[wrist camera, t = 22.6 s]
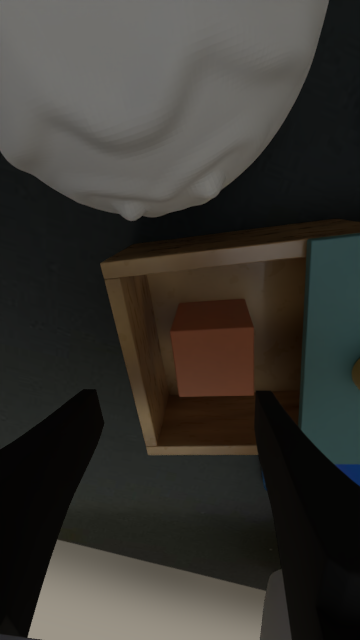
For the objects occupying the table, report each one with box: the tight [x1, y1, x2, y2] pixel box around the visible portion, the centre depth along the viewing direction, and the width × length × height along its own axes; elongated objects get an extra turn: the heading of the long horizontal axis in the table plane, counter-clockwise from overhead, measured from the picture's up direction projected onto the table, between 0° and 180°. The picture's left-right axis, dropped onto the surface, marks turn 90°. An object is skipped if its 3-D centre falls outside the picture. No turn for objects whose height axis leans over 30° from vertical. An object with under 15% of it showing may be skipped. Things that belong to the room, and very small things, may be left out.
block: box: [170, 299, 254, 397], centre depth 17 cm, size 4×4×4 cm
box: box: [100, 219, 360, 455], centre depth 17 cm, size 13×13×6 cm
